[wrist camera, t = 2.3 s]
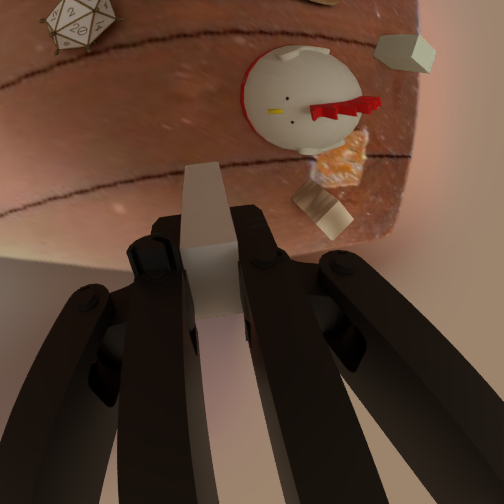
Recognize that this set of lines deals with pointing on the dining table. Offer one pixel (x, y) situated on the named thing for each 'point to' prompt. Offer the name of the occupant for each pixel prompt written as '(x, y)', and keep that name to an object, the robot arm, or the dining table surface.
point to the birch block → (322, 209)
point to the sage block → (405, 52)
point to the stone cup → (327, 2)
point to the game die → (79, 22)
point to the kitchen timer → (303, 99)
